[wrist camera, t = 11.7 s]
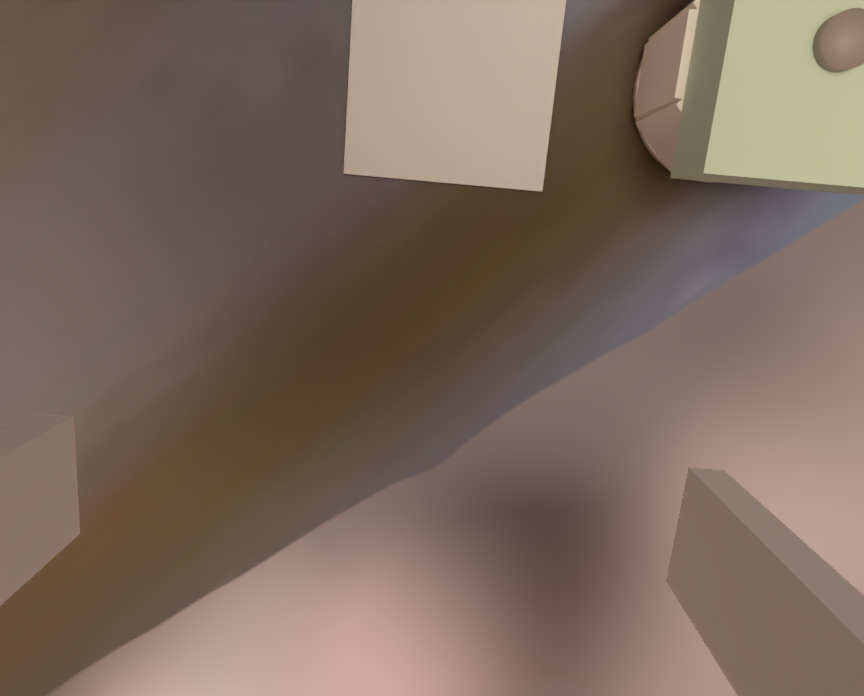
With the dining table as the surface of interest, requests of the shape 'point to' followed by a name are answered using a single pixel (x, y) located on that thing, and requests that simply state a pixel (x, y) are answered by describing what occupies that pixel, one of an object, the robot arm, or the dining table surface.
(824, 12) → the lid
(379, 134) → the mat
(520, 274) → the dining table surface
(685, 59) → the bowl
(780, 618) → the robot arm
